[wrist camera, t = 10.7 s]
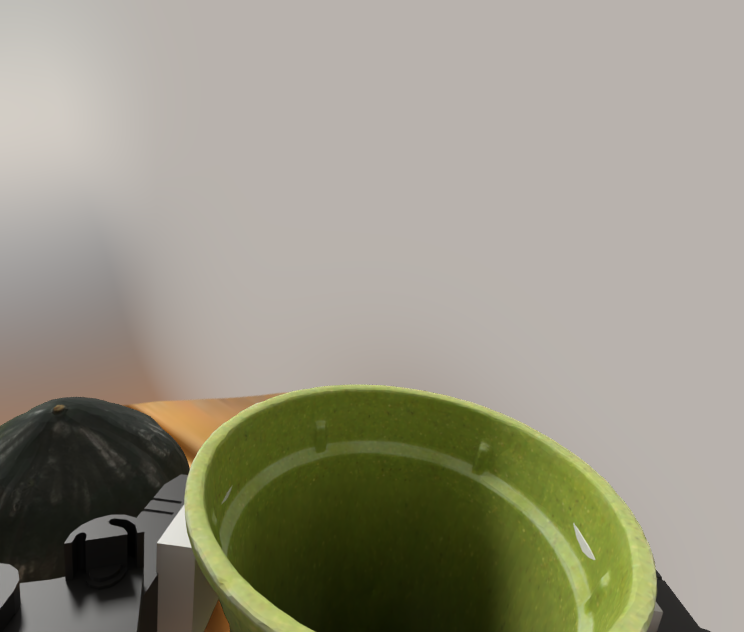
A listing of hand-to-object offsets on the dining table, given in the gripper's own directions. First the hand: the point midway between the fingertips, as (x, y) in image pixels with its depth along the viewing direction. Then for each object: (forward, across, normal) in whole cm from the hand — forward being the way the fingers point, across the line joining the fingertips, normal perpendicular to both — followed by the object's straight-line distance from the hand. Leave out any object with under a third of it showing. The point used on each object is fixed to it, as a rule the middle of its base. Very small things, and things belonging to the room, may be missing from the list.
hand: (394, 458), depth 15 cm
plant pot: (-5, 0, -6) cm, 8 cm away
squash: (+14, -21, -21) cm, 33 cm away
